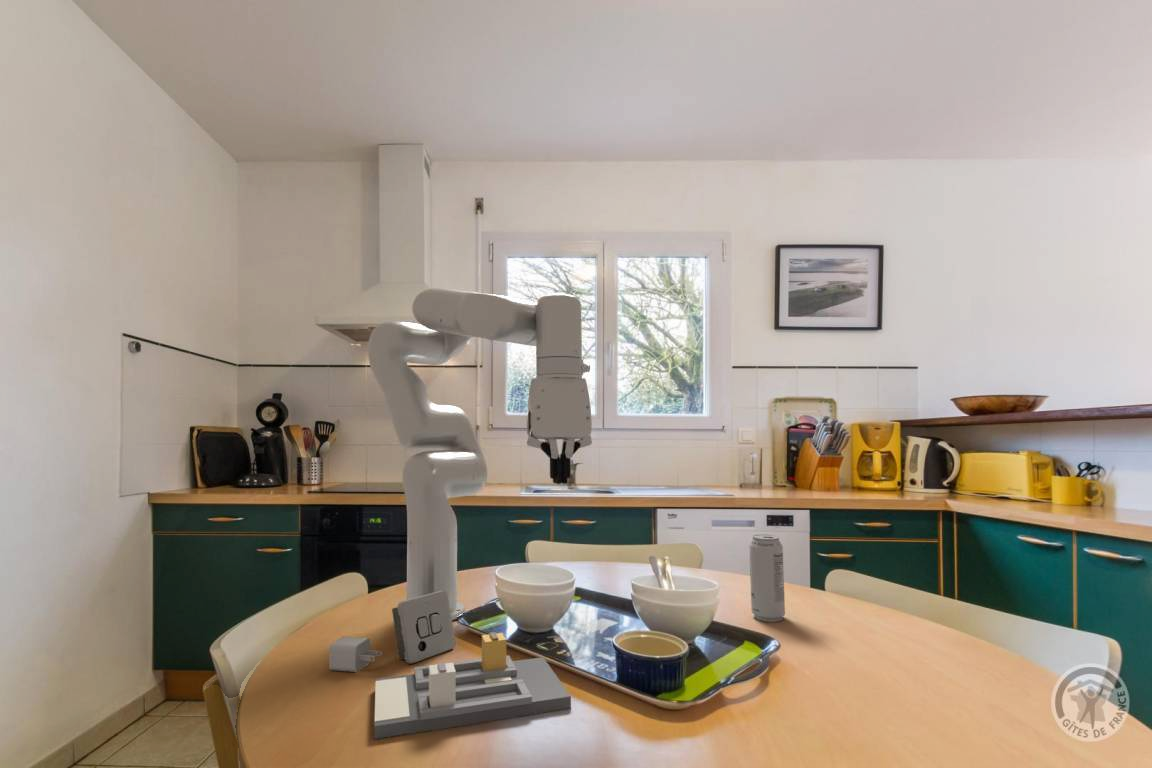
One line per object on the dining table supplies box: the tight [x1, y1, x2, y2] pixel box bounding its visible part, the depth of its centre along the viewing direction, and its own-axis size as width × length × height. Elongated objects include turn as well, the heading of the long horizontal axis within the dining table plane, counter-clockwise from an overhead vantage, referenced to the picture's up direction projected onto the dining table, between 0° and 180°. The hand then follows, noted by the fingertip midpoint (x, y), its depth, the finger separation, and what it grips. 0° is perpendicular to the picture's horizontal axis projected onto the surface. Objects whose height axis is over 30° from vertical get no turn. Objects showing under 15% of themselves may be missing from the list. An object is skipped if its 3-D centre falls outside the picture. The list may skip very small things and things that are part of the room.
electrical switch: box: [391, 591, 457, 665], centre depth 98 cm, size 9×5×9 cm, turn 141°
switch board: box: [373, 655, 572, 740], centre depth 81 cm, size 15×24×2 cm, turn 108°
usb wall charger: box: [328, 636, 383, 673], centre depth 92 cm, size 4×7×4 cm, turn 78°
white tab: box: [428, 661, 456, 708], centre depth 75 cm, size 3×3×5 cm
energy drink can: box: [749, 534, 786, 623], centre depth 114 cm, size 6×6×15 cm
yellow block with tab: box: [481, 631, 507, 671], centre depth 86 cm, size 3×3×5 cm
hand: (560, 482), depth 98 cm, fingers closed
